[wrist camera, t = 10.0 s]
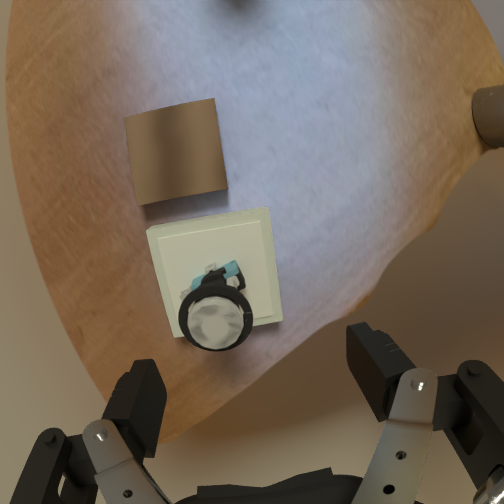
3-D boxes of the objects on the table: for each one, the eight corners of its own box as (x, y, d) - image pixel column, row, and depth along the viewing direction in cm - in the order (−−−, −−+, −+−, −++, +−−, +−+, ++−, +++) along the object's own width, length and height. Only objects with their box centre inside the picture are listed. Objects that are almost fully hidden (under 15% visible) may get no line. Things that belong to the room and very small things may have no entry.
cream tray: (265, 206, 30) (269, 209, 28) (279, 310, 34) (283, 321, 31) (152, 225, 30) (145, 231, 27) (177, 326, 33) (173, 338, 31)
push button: (194, 313, 30) (184, 373, 20) (169, 269, 28) (145, 317, 19) (253, 288, 30) (266, 342, 20) (230, 241, 28) (233, 278, 19)
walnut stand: (214, 102, 27) (214, 98, 25) (227, 187, 30) (228, 188, 28) (130, 120, 27) (124, 117, 25) (142, 203, 29) (137, 205, 27)
